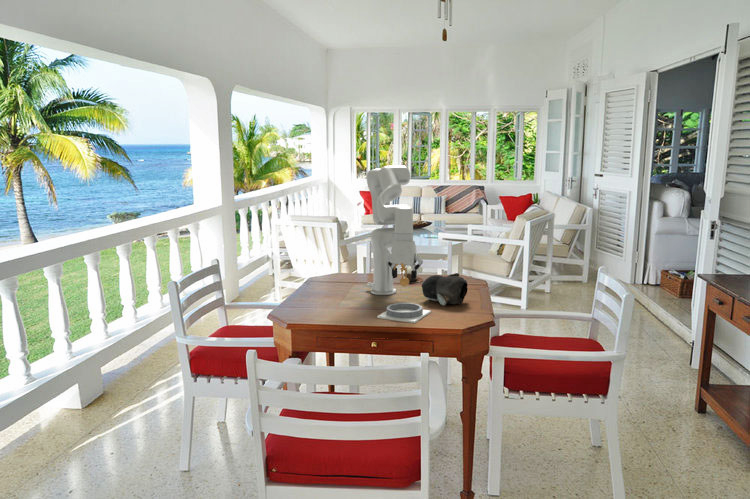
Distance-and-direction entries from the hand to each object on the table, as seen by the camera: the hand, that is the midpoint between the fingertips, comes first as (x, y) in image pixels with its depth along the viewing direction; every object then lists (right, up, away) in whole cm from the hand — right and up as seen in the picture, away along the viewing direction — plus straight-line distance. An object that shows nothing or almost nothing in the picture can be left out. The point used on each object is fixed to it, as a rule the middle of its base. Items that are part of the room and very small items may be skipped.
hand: (404, 278), depth 238 cm
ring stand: (0, -16, +3) cm, 16 cm away
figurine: (0, -4, +1) cm, 4 cm away
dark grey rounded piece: (+20, -12, +22) cm, 32 cm away
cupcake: (+7, -5, +66) cm, 66 cm away
